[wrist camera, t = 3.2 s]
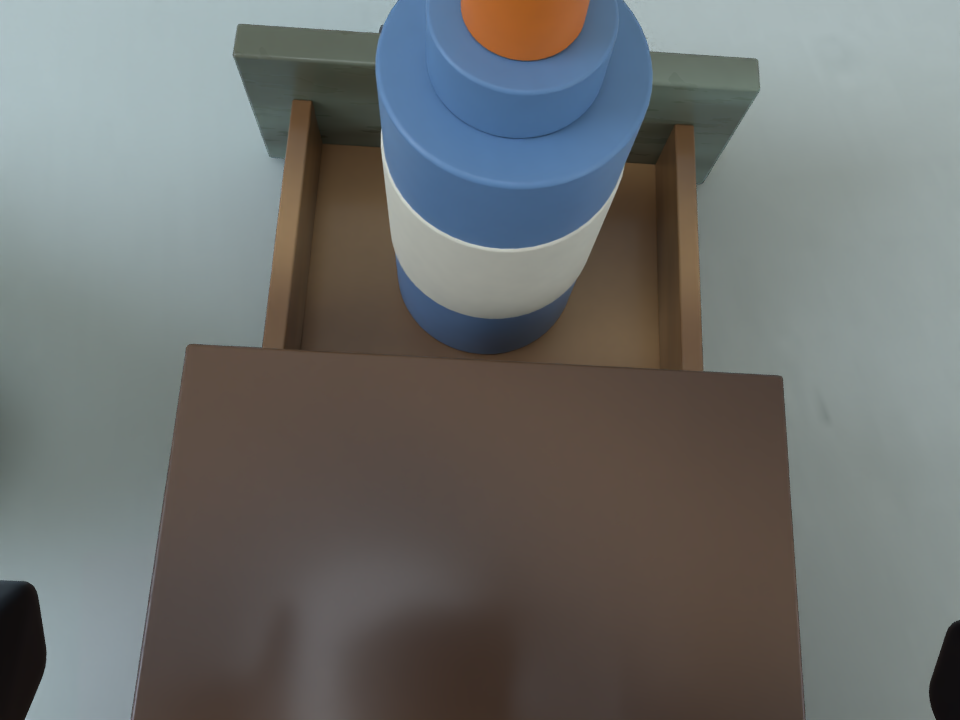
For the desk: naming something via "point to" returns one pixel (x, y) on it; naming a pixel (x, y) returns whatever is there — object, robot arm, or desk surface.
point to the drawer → (366, 228)
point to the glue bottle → (503, 155)
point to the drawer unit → (471, 543)
